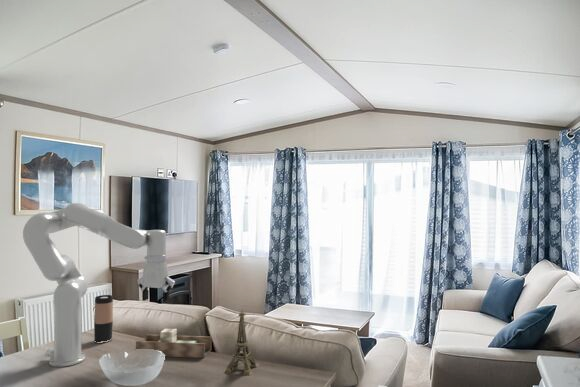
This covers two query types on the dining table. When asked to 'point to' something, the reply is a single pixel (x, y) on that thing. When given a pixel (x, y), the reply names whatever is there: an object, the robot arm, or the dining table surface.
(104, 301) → the travel mug
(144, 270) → the robot arm
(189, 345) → the box
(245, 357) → the eiffel tower
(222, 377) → the dining table surface
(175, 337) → the block
